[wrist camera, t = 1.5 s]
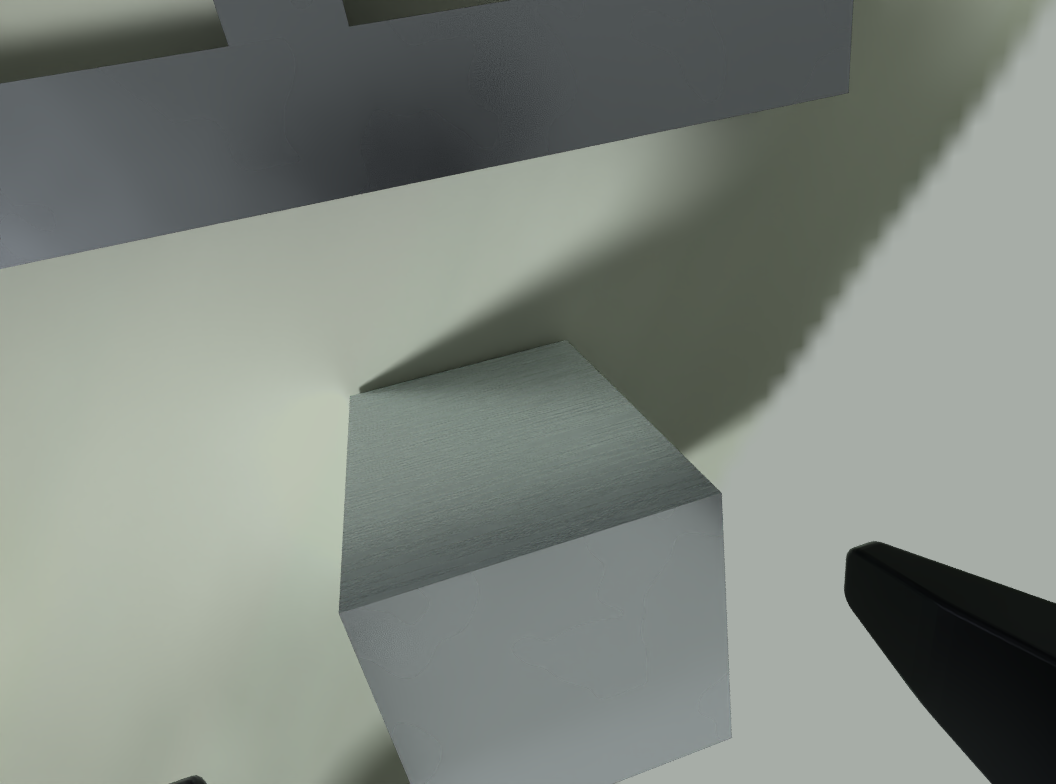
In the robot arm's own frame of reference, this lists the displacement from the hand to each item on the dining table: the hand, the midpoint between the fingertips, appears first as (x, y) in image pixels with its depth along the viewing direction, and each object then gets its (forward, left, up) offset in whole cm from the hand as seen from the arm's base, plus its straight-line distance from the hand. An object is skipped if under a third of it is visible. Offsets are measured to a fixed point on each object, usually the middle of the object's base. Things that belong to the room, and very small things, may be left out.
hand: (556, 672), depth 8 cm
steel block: (0, 0, -6) cm, 6 cm away
